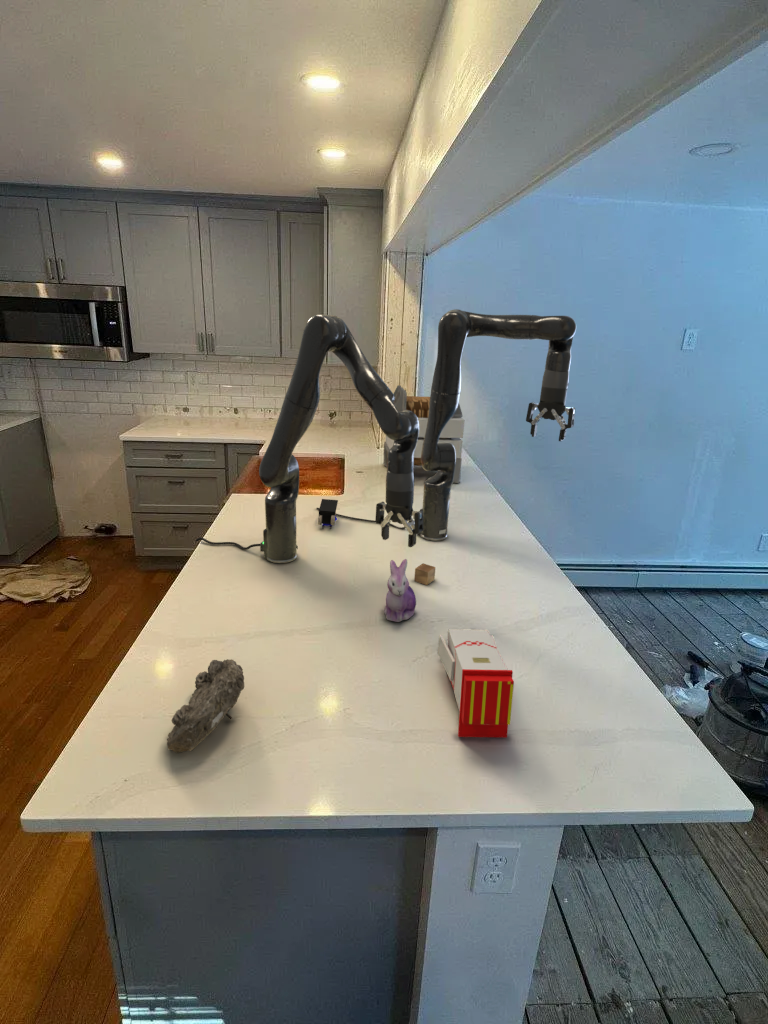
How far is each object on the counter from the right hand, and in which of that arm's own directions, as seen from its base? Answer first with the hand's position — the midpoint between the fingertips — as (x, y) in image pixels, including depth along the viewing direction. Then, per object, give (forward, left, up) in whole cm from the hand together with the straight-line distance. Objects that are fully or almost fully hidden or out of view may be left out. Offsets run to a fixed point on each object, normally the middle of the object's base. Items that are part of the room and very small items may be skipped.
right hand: (547, 438), depth 176 cm
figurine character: (-67, -25, -39) cm, 82 cm away
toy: (+18, -79, -39) cm, 89 cm away
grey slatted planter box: (-79, +57, -39) cm, 105 cm away
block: (-17, -41, -39) cm, 59 cm away
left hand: (-21, -50, -25) cm, 59 cm away
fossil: (-18, -116, -39) cm, 124 cm away
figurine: (-12, -61, -39) cm, 74 cm away
